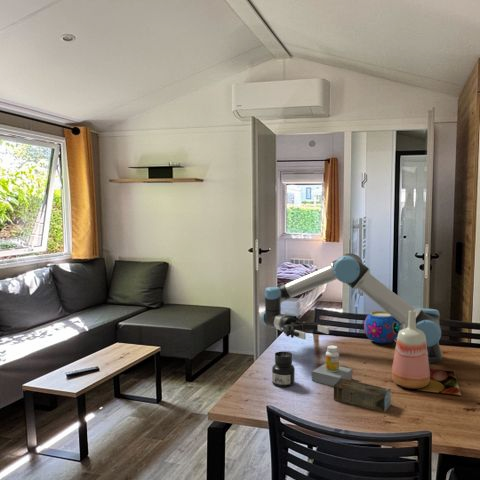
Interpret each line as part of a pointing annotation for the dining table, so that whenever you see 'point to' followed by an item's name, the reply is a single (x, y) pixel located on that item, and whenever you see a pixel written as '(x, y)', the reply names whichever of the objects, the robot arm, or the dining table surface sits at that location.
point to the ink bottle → (283, 370)
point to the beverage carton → (362, 394)
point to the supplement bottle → (332, 359)
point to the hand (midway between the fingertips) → (316, 333)
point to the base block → (330, 375)
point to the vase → (411, 357)
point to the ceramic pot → (381, 327)
